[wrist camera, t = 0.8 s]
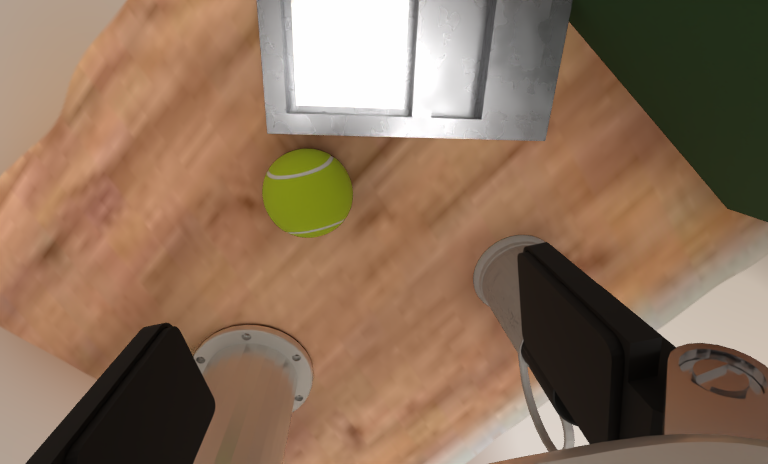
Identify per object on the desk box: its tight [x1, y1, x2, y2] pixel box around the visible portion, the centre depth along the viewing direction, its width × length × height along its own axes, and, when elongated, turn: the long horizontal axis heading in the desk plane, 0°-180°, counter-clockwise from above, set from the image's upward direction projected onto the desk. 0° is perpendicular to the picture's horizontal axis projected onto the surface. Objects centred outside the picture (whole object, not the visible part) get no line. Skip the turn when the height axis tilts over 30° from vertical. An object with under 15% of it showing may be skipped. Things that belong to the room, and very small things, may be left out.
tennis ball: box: [262, 149, 353, 238], centre depth 29 cm, size 7×7×7 cm
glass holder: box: [473, 235, 578, 452], centre depth 32 cm, size 9×14×15 cm, turn 176°
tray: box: [257, 0, 573, 141], centre depth 28 cm, size 13×22×3 cm, turn 88°
